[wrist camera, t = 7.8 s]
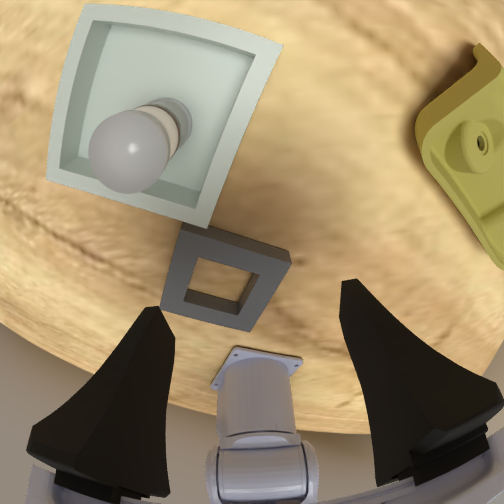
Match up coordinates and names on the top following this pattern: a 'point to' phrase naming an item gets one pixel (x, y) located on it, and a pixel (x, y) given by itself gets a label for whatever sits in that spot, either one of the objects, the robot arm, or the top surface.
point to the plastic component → (470, 148)
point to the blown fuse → (138, 144)
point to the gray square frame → (228, 253)
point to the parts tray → (154, 87)
